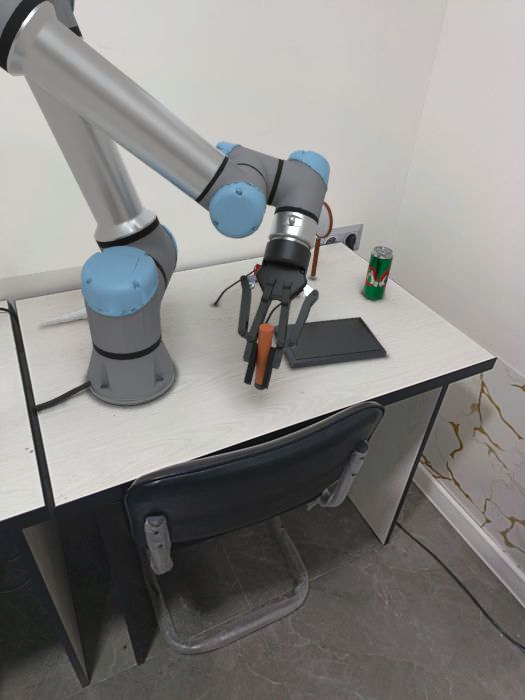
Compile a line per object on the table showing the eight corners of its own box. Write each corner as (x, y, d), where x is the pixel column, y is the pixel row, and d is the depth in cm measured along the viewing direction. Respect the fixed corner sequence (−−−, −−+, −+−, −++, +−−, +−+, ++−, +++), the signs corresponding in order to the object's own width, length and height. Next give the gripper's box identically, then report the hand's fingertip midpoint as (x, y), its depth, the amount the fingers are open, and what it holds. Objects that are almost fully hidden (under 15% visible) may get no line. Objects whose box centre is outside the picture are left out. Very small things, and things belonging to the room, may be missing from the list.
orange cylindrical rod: (255, 390, 82) (261, 332, 75) (252, 382, 84) (257, 323, 76) (268, 389, 83) (275, 330, 75) (265, 380, 84) (271, 322, 77)
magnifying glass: (324, 286, 122) (337, 208, 110) (318, 287, 121) (331, 208, 109) (306, 270, 128) (316, 194, 116) (300, 271, 127) (310, 195, 115)
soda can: (382, 291, 122) (393, 246, 115) (384, 301, 118) (395, 256, 111) (361, 289, 122) (371, 244, 115) (363, 299, 118) (373, 253, 111)
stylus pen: (110, 308, 108) (109, 300, 107) (114, 314, 106) (113, 306, 105) (38, 324, 102) (36, 317, 100) (41, 331, 100) (39, 323, 99)
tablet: (292, 368, 96) (293, 363, 95) (273, 330, 106) (274, 325, 105) (385, 356, 101) (387, 351, 100) (359, 321, 110) (360, 316, 110)
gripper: (241, 228, 78) (204, 372, 76) (335, 246, 76) (301, 395, 73) (248, 246, 86) (215, 377, 83) (335, 262, 83) (303, 398, 80)
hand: (255, 385), depth 78 cm, fingers closed on orange cylindrical rod, 2 cm apart
